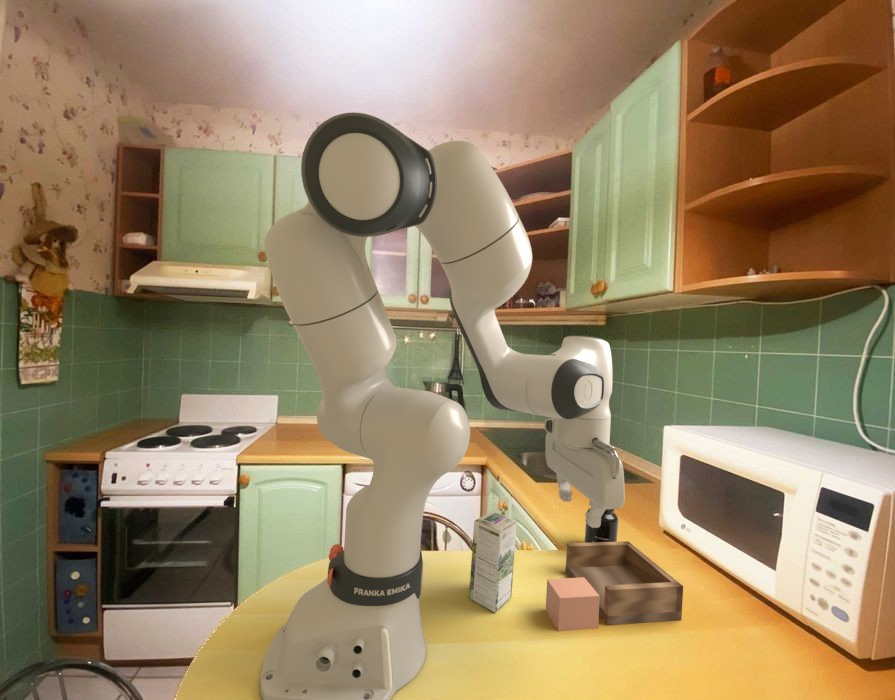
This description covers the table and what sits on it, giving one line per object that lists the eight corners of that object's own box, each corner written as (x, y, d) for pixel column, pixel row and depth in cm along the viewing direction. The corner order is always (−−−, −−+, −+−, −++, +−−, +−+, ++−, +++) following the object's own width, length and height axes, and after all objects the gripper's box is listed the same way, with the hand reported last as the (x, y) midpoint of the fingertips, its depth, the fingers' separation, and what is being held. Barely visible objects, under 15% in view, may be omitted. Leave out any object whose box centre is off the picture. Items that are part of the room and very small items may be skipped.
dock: (607, 625, 63) (609, 590, 63) (565, 571, 77) (567, 543, 77) (681, 619, 65) (683, 586, 65) (626, 568, 80) (628, 541, 80)
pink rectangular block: (558, 631, 61) (560, 598, 61) (545, 610, 66) (547, 579, 66) (597, 628, 62) (599, 595, 62) (582, 607, 67) (584, 577, 67)
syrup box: (485, 584, 72) (489, 509, 72) (512, 598, 68) (517, 519, 68) (468, 598, 67) (472, 518, 67) (496, 614, 64) (500, 530, 64)
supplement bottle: (596, 561, 82) (599, 506, 82) (578, 545, 89) (580, 494, 88) (623, 558, 84) (625, 504, 84) (602, 542, 90) (605, 493, 90)
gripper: (638, 449, 54) (634, 544, 54) (571, 419, 74) (567, 488, 74) (598, 449, 53) (593, 545, 53) (540, 418, 73) (537, 488, 73)
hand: (578, 511), depth 64 cm, fingers open, 8 cm apart
